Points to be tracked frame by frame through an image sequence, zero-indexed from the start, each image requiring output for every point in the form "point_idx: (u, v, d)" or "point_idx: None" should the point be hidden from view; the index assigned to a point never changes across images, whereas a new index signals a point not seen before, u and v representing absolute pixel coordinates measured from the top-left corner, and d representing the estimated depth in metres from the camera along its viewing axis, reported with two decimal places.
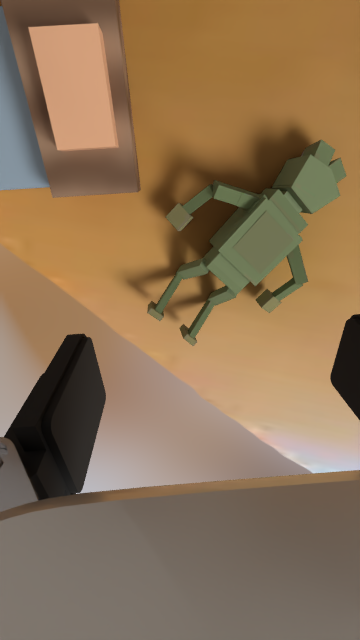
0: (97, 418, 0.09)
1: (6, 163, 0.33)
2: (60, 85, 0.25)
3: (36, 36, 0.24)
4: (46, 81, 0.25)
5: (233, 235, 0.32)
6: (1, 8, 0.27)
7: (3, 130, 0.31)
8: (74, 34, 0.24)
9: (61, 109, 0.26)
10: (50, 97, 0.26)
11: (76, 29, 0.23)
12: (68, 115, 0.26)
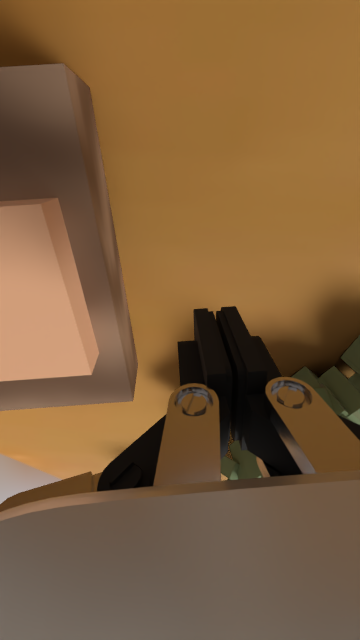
0: None
1: None
2: None
3: None
4: None
5: None
6: None
7: None
8: None
9: None
10: None
11: None
12: None
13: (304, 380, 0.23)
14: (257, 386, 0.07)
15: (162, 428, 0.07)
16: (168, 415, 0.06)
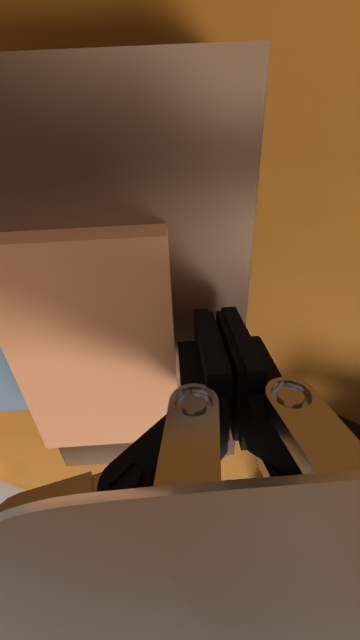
0: None
1: None
2: (54, 355, 0.10)
3: None
4: (16, 350, 0.09)
5: None
6: None
7: None
8: (95, 260, 0.08)
9: (56, 393, 0.10)
10: (28, 375, 0.10)
11: (102, 250, 0.08)
12: (73, 401, 0.11)
13: None
14: (257, 386, 0.07)
15: (162, 428, 0.07)
16: (168, 415, 0.06)
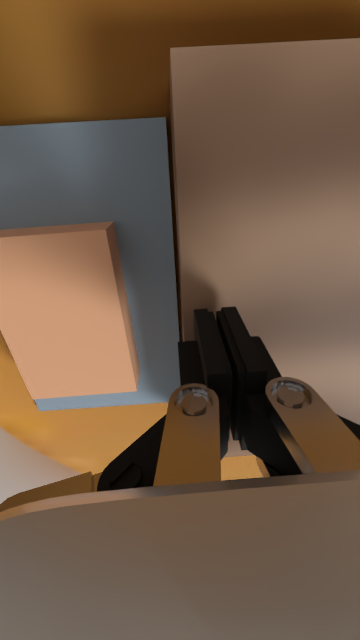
0: None
1: None
2: None
3: None
4: None
5: None
6: (132, 124, 0.11)
7: None
8: None
9: None
10: None
11: None
12: None
13: None
14: (257, 386, 0.07)
15: (162, 428, 0.07)
16: (168, 415, 0.06)
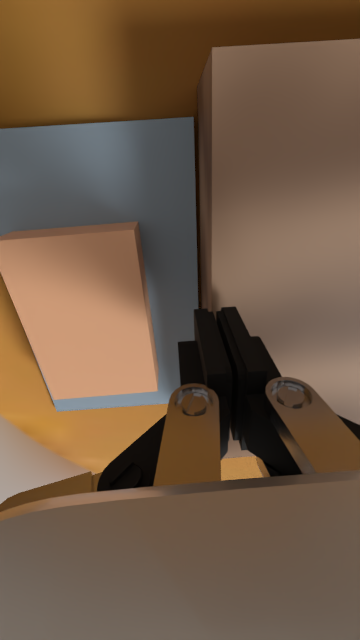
0: None
1: None
2: None
3: None
4: None
5: None
6: (160, 124, 0.11)
7: None
8: None
9: None
10: None
11: None
12: None
13: None
14: (257, 386, 0.07)
15: (162, 428, 0.07)
16: (168, 415, 0.06)
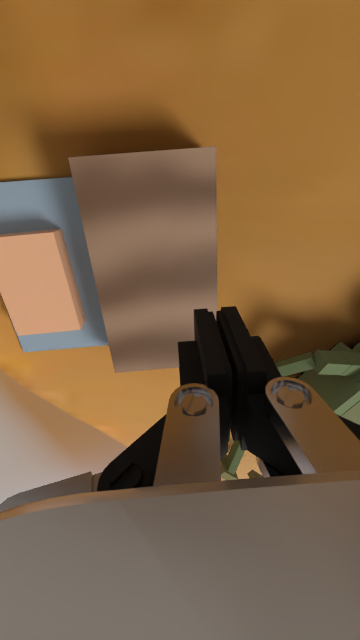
0: None
1: None
2: None
3: None
4: None
5: (337, 409, 0.26)
6: (66, 179, 0.22)
7: None
8: None
9: None
10: None
11: None
12: None
13: (341, 351, 0.30)
14: (257, 386, 0.07)
15: (162, 428, 0.07)
16: (168, 415, 0.06)
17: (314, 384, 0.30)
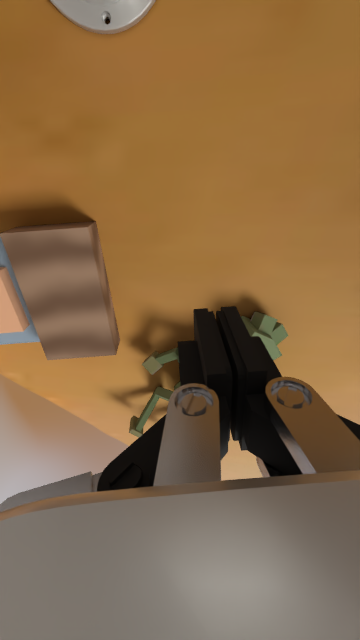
0: None
1: None
2: None
3: None
4: None
5: None
6: None
7: None
8: None
9: None
10: None
11: None
12: None
13: None
14: (257, 386, 0.07)
15: (162, 428, 0.07)
16: (168, 415, 0.06)
17: None
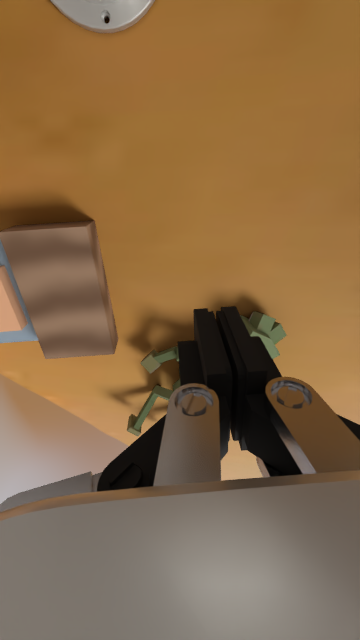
0: None
1: None
2: None
3: None
4: None
5: None
6: None
7: None
8: None
9: None
10: None
11: None
12: None
13: None
14: (257, 386, 0.07)
15: (162, 428, 0.07)
16: (168, 415, 0.06)
17: None
